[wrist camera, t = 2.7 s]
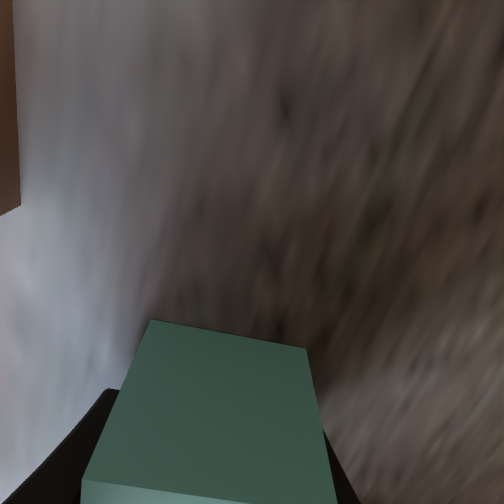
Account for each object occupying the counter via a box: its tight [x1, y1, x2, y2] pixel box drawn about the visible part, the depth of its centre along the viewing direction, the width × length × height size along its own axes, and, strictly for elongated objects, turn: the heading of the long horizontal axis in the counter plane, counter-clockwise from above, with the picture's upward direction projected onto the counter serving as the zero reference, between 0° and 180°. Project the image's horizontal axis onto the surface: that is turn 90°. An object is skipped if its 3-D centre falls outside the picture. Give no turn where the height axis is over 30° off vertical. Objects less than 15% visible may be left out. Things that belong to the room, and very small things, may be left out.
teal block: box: [80, 319, 338, 504], centre depth 9 cm, size 4×4×4 cm
